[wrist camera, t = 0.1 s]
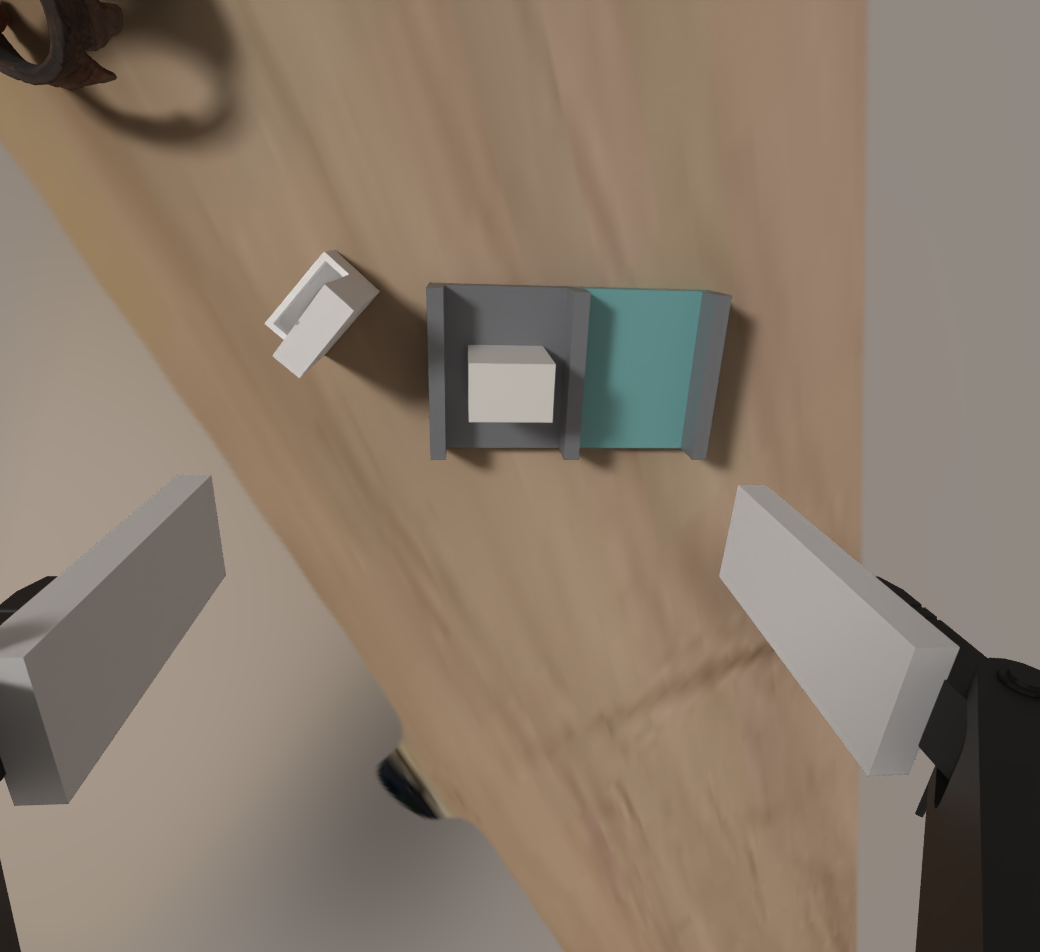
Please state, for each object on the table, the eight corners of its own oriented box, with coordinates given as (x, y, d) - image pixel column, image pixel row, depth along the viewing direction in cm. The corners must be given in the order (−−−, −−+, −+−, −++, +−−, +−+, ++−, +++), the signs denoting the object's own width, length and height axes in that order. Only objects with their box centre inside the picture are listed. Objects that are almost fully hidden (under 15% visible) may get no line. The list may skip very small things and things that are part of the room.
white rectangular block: (467, 344, 40) (468, 363, 34) (542, 345, 40) (555, 364, 35) (467, 396, 41) (468, 422, 36) (540, 396, 42) (552, 422, 36)
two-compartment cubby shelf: (429, 282, 39) (426, 287, 36) (710, 290, 41) (732, 295, 38) (433, 442, 43) (430, 459, 40) (688, 442, 45) (705, 459, 42)
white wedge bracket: (421, 241, 36) (354, 310, 30) (344, 333, 42) (276, 406, 36) (374, 193, 35) (293, 256, 29) (302, 296, 41) (224, 365, 35)
